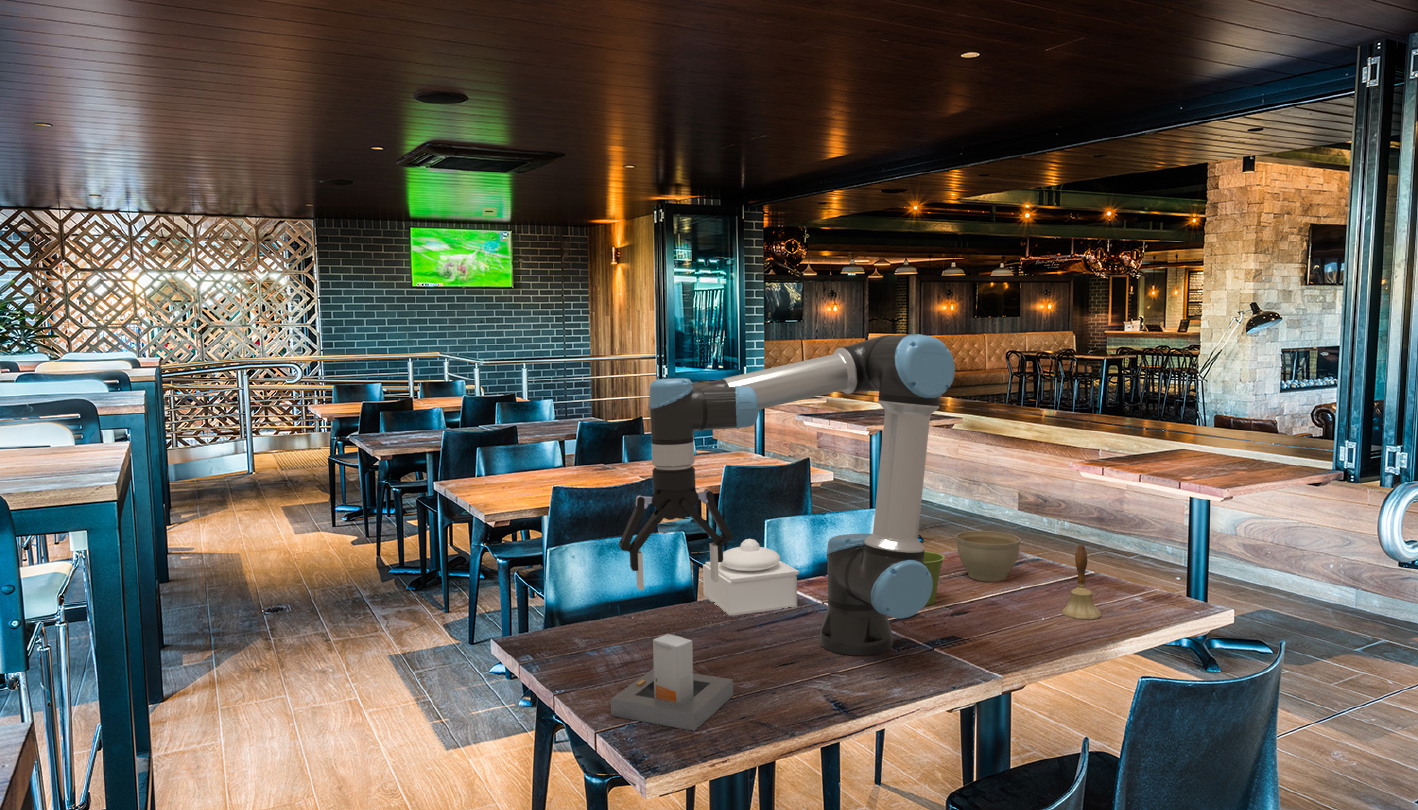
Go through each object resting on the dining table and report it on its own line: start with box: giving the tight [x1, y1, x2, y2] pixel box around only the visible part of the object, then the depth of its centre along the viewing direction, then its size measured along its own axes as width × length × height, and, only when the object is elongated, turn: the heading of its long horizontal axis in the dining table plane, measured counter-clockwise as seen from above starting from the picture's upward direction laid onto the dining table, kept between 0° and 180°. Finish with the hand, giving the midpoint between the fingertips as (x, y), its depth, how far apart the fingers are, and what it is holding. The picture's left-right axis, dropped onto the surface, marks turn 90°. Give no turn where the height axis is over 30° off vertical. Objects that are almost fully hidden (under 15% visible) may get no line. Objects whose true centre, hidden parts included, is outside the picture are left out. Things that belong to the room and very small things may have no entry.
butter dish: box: [702, 538, 800, 617], centre depth 222 cm, size 18×18×16 cm
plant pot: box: [923, 551, 946, 607], centre depth 219 cm, size 12×12×11 cm
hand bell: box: [1061, 544, 1102, 620], centre depth 207 cm, size 8×8×16 cm
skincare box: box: [652, 633, 694, 704], centre depth 161 cm, size 6×4×12 cm
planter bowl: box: [955, 530, 1021, 583], centre depth 239 cm, size 16×16×11 cm
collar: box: [610, 667, 734, 732], centre depth 161 cm, size 16×16×3 cm
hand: (678, 584), depth 163 cm, fingers open, 13 cm apart
